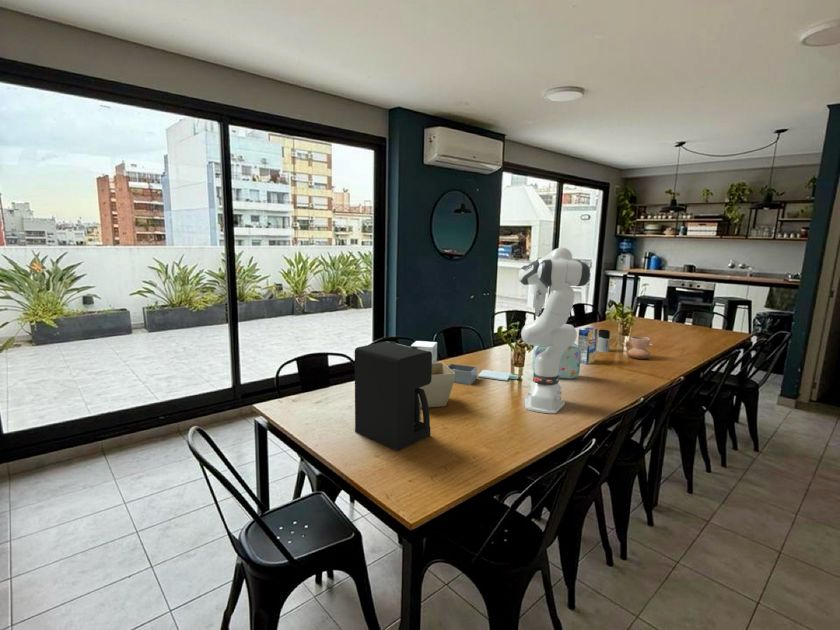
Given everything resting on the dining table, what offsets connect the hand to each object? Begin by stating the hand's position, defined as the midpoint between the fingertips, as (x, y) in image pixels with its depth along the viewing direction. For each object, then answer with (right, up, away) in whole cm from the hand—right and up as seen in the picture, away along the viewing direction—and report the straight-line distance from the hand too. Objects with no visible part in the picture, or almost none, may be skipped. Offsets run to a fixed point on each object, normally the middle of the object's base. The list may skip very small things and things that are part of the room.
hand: (538, 314), depth 243 cm
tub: (-43, -37, +4) cm, 56 cm away
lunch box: (+14, -36, +13) cm, 41 cm away
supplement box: (-63, -35, +17) cm, 74 cm away
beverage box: (+44, -31, +47) cm, 71 cm away
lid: (-20, -36, +11) cm, 43 cm away
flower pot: (-61, -43, -32) cm, 81 cm away
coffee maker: (-74, -48, -68) cm, 112 cm away
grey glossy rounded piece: (-45, -35, +8) cm, 58 cm away
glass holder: (+70, -27, +77) cm, 107 cm away
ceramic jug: (+85, -30, +61) cm, 108 cm away
